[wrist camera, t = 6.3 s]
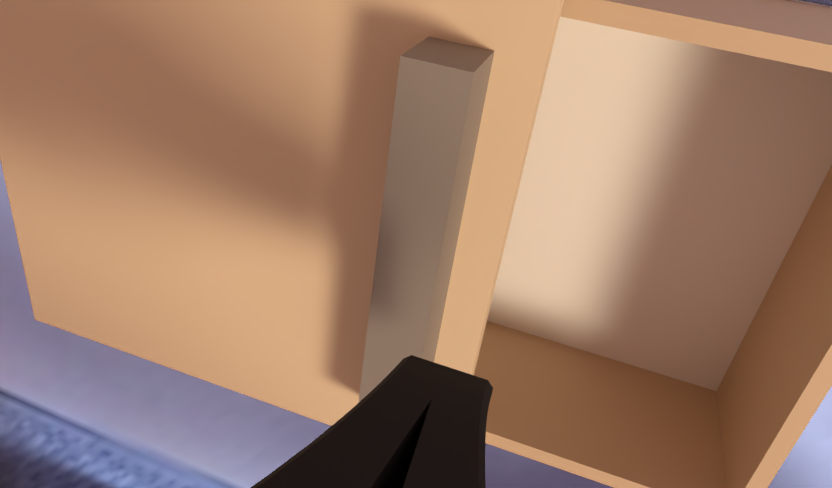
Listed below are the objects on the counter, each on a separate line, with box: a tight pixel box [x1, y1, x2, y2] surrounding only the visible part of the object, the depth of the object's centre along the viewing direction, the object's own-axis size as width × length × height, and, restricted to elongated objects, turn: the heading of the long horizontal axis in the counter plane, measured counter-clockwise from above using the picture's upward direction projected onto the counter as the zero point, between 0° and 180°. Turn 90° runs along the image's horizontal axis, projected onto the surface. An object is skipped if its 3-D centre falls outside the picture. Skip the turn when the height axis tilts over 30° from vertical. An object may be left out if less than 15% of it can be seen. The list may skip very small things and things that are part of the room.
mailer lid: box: [0, 0, 564, 426], centre depth 14 cm, size 13×12×2 cm
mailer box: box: [474, 0, 832, 488], centre depth 16 cm, size 12×11×5 cm
